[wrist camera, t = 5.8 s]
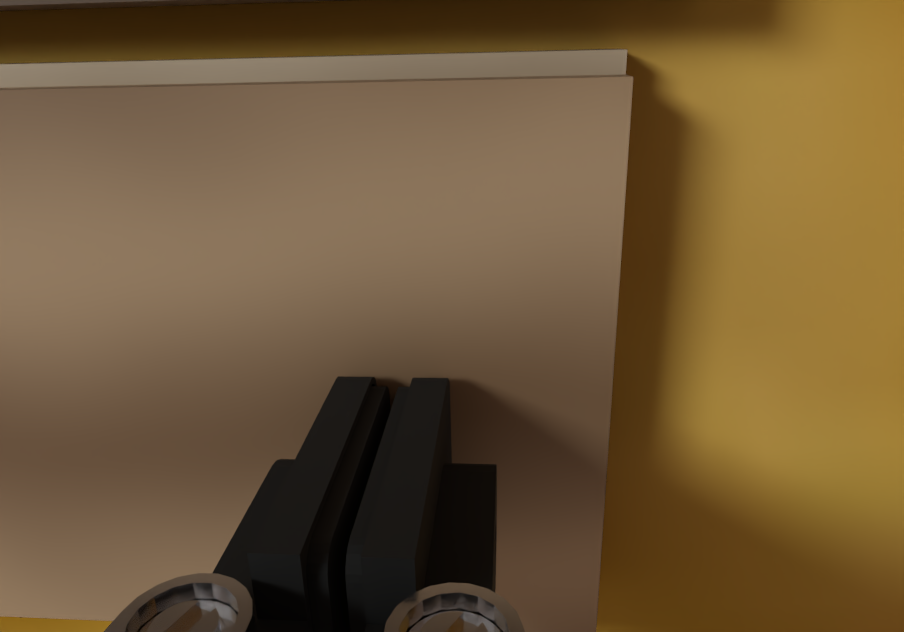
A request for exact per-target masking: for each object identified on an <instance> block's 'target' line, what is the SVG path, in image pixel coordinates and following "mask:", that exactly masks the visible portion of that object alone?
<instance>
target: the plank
mask: <svg viewBox="0 0 904 632" xmlns="http://www.w3.org/2000/svg"><path fill="white" fill-rule="evenodd" d="M626 64H627V49H594V50H552V51H510V52H469V53H427V54H386V55H344V56H302V57H261V58H219V59H178V60H136V61H94V62H53V63H11V64H0V616H9V617H32V618H56V619H79V620H103V621H114V620H115V618H116V617H117V616H118V615H119V614H120V613H121V612H122V610H124V609H125V608H126V607H127V606H128V605H129V604H130V603H131V602H132V601H133V600H135V599H136V598H137V597H138V596H139V595H141V594H143V593H144V592H146V591H148V590H149V589H151V588H153V587H154V586H156V585H158V584H160V583H163V582H166V581H168V580H171V579H174V578H176V577H180V576H185V575H191V574H196V573H213V571H214V569H215V567H216V565H217V564H218V562H219V560H220V558H221V556H222V555H223V553H224V551H225V549H226V547H227V546H228V544H229V542H230V540H231V538H232V537H233V535H234V533H235V531H236V529H237V528H238V526H239V524H240V522H241V520H242V519H243V517H244V515H245V513H246V511H247V510H248V508H249V506H250V504H251V502H252V501H253V499H254V497H255V495H256V493H257V492H258V490H259V488H260V486H261V484H262V483H263V481H264V479H265V477H266V475H267V474H268V472H269V470H270V468H271V466H272V465H273V464H274V463H275V461H276V460H279V459H295V458H296V456H297V454H298V452H299V450H300V448H301V446H302V444H303V443H304V441H305V439H306V437H307V435H308V433H309V431H310V429H311V427H312V425H313V423H314V421H315V419H316V417H317V415H318V413H319V411H320V409H321V407H322V405H323V403H324V401H325V399H326V397H327V396H328V394H329V392H330V390H331V388H332V386H333V384H334V382H335V380H336V378H337V377H338V376H344V377H375V379H376V383H377V386H387V387H388V388H389V394H390V409H391V407H392V404H393V401H394V398H395V395H396V392H397V389H398V387H410V384H411V380H412V378H449V383H450V410H451V449H452V463H462V464H497V542H496V588H495V593H496V594H498V595H500V596H501V597H503V598H505V599H506V600H507V601H508V603H509V604H510V605H511V606H512V607H513V608H514V609H515V610H516V611H517V613H518V615H519V617H520V620H521V622H522V624H523V627H524V630H525V632H596V625H597V610H598V595H599V581H600V566H601V551H602V536H603V521H604V506H605V492H606V477H607V462H608V447H609V432H610V417H611V402H612V388H613V373H614V358H615V343H616V328H617V313H618V299H619V284H620V269H621V254H622V239H623V224H624V209H625V195H626V180H627V165H628V150H629V135H630V120H631V106H632V91H633V77H632V76H629V75H626Z"/></svg>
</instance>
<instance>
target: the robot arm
mask: <svg viewBox="0 0 904 632" xmlns="http://www.w3.org/2000/svg"><path fill="white" fill-rule="evenodd" d="M496 542H497V464H462V463H452V449H451V410H450V383H449V378H412V380H411V384H410V387H398V389H397V392H396V395H395V398H394V401H393V404H392V407H391V409H390V394H389V388H388V387H387V386H377V383H376V379H375V377H344V376H338V377H337V378H336V380H335V382H334V384H333V386H332V388H331V390H330V392H329V394H328V396H327V397H326V399H325V401H324V403H323V405H322V407H321V409H320V411H319V413H318V415H317V417H316V419H315V421H314V423H313V425H312V427H311V429H310V431H309V433H308V435H307V437H306V439H305V441H304V443H303V444H302V446H301V448H300V450H299V452H298V454H297V456H296V458H295V459H279V460H276V461H275V463H274V464H273V465H272V466H271V468H270V470H269V472H268V474H267V475H266V477H265V479H264V481H263V483H262V484H261V486H260V488H259V490H258V492H257V493H256V495H255V497H254V499H253V501H252V502H251V504H250V506H249V508H248V510H247V511H246V513H245V515H244V517H243V519H242V520H241V522H240V524H239V526H238V528H237V529H236V531H235V533H234V535H233V537H232V538H231V540H230V542H229V544H228V546H227V547H226V549H225V551H224V553H223V555H222V556H221V558H220V560H219V562H218V564H217V565H216V567H215V569H214V571H213V573H196V574H191V575H185V576H180V577H176V578H174V579H171V580H168V581H166V582H163V583H160V584H158V585H156V586H154V587H153V588H151V589H149V590H148V591H146V592H144V593H143V594H141V595H139V596H138V597H137V598H136V599H135V600H133V601H132V602H131V603H130V604H129V605H128V606H127V607H126V608H125V609H124V610H122V612H121V613H120V614H119V615H118V616H117V617H116V618H115V620H114V621H113V622H112V623H111V624H110V625H109V626H108V628H107V629H106V630H105V631H104V632H525V630H524V627H523V624H522V622H521V620H520V617H519V615H518V613H517V611H516V610H515V609H514V608H513V607H512V606H511V605H510V604H509V603H508V601H507V600H506V599H505V598H503V597H501V596H500V595H498V594H496V593H495V588H496Z"/></svg>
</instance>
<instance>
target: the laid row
mask: <svg viewBox="0 0 904 632" xmlns="http://www.w3.org/2000/svg"><path fill="white" fill-rule="evenodd" d="M312 1H345V0H0V11H16V10H49V9H81V8H114V7H147V6H180V5H213V4H246V3H279V2H312Z"/></svg>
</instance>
